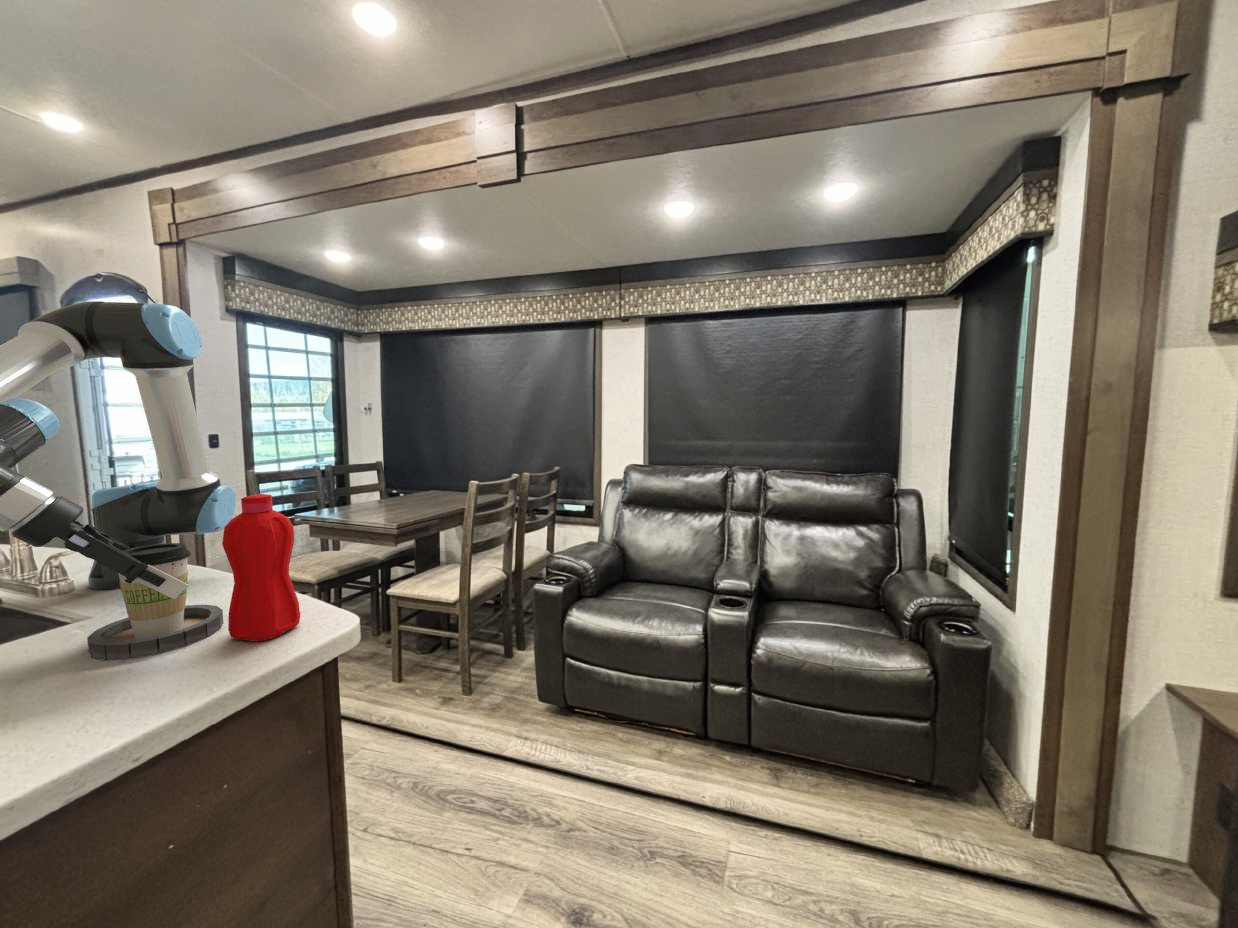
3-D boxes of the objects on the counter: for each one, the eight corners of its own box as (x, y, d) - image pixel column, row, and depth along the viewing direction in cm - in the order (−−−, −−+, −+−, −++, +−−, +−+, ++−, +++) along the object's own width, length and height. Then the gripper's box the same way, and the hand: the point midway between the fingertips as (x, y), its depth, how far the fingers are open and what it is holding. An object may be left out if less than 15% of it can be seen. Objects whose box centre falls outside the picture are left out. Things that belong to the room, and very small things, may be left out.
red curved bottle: (259, 619, 93) (250, 490, 91) (309, 623, 91) (300, 491, 89) (211, 640, 84) (199, 498, 82) (265, 645, 82) (254, 499, 80)
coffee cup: (149, 647, 80) (141, 557, 79) (103, 642, 82) (95, 554, 81) (210, 623, 89) (204, 543, 88) (168, 619, 91) (162, 541, 90)
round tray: (112, 629, 89) (111, 616, 89) (230, 610, 97) (229, 598, 97) (69, 670, 74) (67, 654, 74) (212, 643, 83) (211, 629, 83)
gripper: (9, 523, 80) (143, 587, 93) (4, 547, 64) (167, 620, 77) (54, 487, 84) (178, 554, 96) (61, 502, 68) (208, 579, 81)
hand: (173, 583), depth 87 cm, fingers open, 13 cm apart
